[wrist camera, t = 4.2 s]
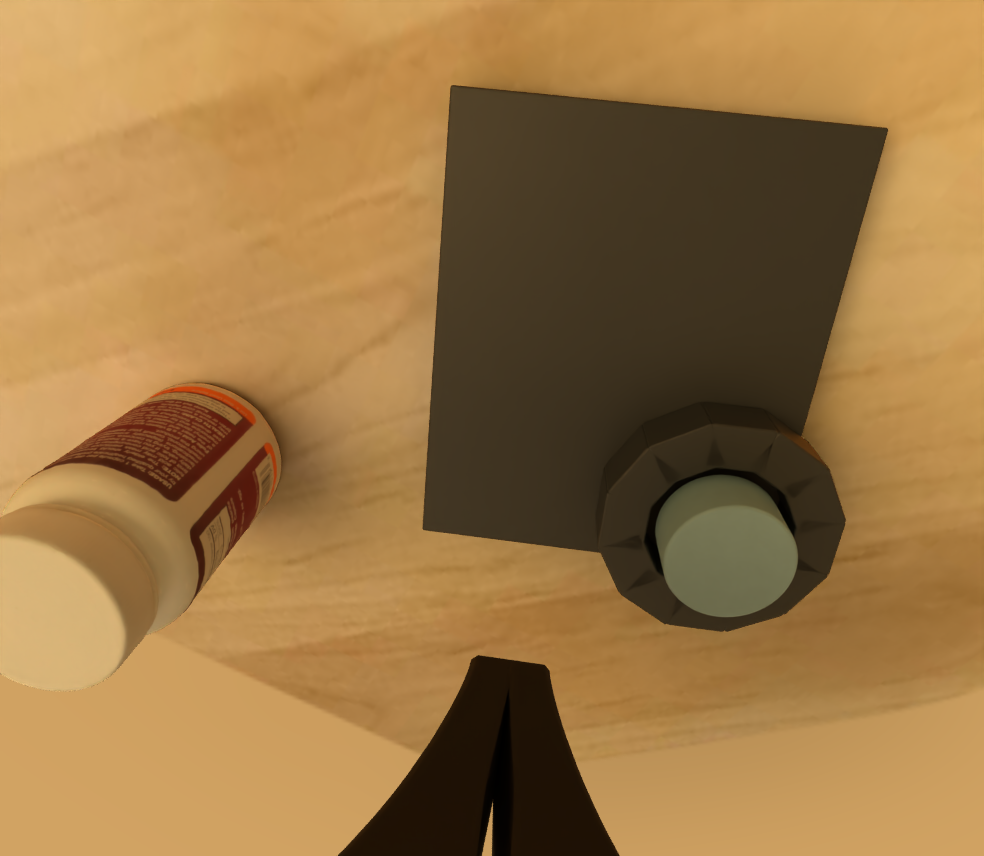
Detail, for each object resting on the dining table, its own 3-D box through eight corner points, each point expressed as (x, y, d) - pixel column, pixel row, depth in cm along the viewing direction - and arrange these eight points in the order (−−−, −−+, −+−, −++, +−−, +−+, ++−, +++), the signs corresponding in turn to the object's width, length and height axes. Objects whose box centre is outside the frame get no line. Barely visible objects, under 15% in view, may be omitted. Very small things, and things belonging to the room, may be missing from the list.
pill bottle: (106, 421, 23) (-129, 574, 15) (224, 353, 22) (34, 481, 14) (199, 540, 24) (27, 735, 16) (314, 481, 23) (188, 664, 15)
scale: (777, 581, 23) (807, 644, 20) (428, 536, 23) (409, 592, 21) (909, 132, 18) (973, 133, 15) (458, 87, 18) (439, 81, 15)
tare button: (763, 586, 20) (780, 626, 18) (645, 570, 20) (652, 609, 18) (792, 481, 19) (814, 515, 17) (667, 466, 19) (676, 498, 17)
